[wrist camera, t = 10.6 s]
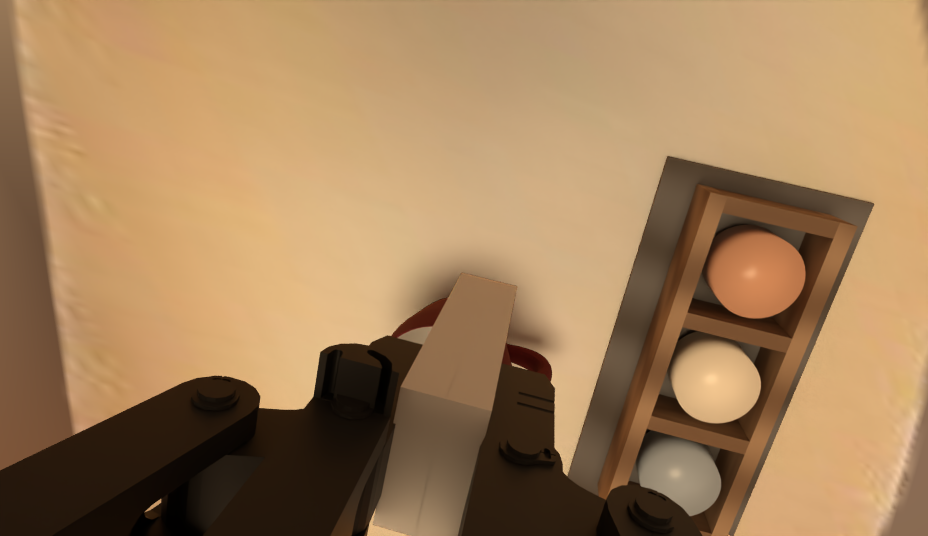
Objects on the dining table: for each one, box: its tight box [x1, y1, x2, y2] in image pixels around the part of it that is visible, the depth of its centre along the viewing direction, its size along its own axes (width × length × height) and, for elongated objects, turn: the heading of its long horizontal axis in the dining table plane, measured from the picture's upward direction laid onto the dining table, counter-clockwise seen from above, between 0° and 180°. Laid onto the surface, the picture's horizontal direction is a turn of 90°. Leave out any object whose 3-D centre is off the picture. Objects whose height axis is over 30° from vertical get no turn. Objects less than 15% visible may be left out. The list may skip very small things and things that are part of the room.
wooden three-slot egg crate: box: [568, 156, 874, 536], centre depth 41 cm, size 26×13×4 cm, turn 168°
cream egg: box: [667, 331, 761, 423], centre depth 40 cm, size 5×5×3 cm
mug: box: [392, 298, 552, 381], centre depth 40 cm, size 11×8×10 cm
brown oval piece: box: [702, 225, 806, 318], centre depth 38 cm, size 5×5×3 cm
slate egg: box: [635, 430, 721, 516], centre depth 42 cm, size 5×5×3 cm
